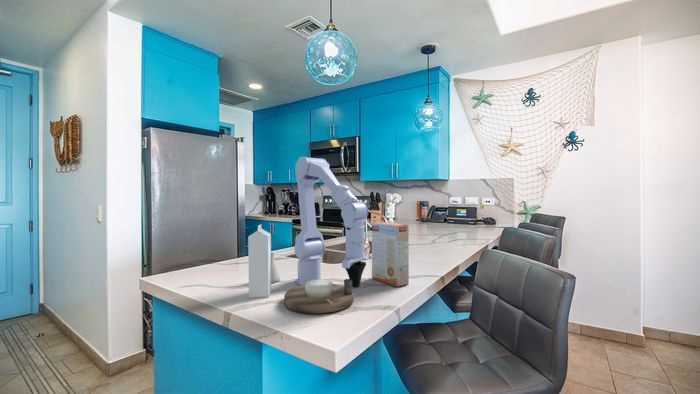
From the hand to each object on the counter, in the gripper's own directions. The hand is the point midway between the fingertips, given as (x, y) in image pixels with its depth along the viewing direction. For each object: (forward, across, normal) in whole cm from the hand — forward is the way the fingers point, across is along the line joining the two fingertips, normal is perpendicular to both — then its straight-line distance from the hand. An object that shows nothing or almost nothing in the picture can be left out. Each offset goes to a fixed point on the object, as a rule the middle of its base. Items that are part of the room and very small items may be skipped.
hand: (355, 286), depth 96 cm
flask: (+4, +5, +36) cm, 36 cm away
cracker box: (+4, +21, -5) cm, 22 cm away
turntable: (+3, -7, +8) cm, 12 cm away
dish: (+1, -7, +8) cm, 11 cm away
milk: (+4, -8, +29) cm, 30 cm away
